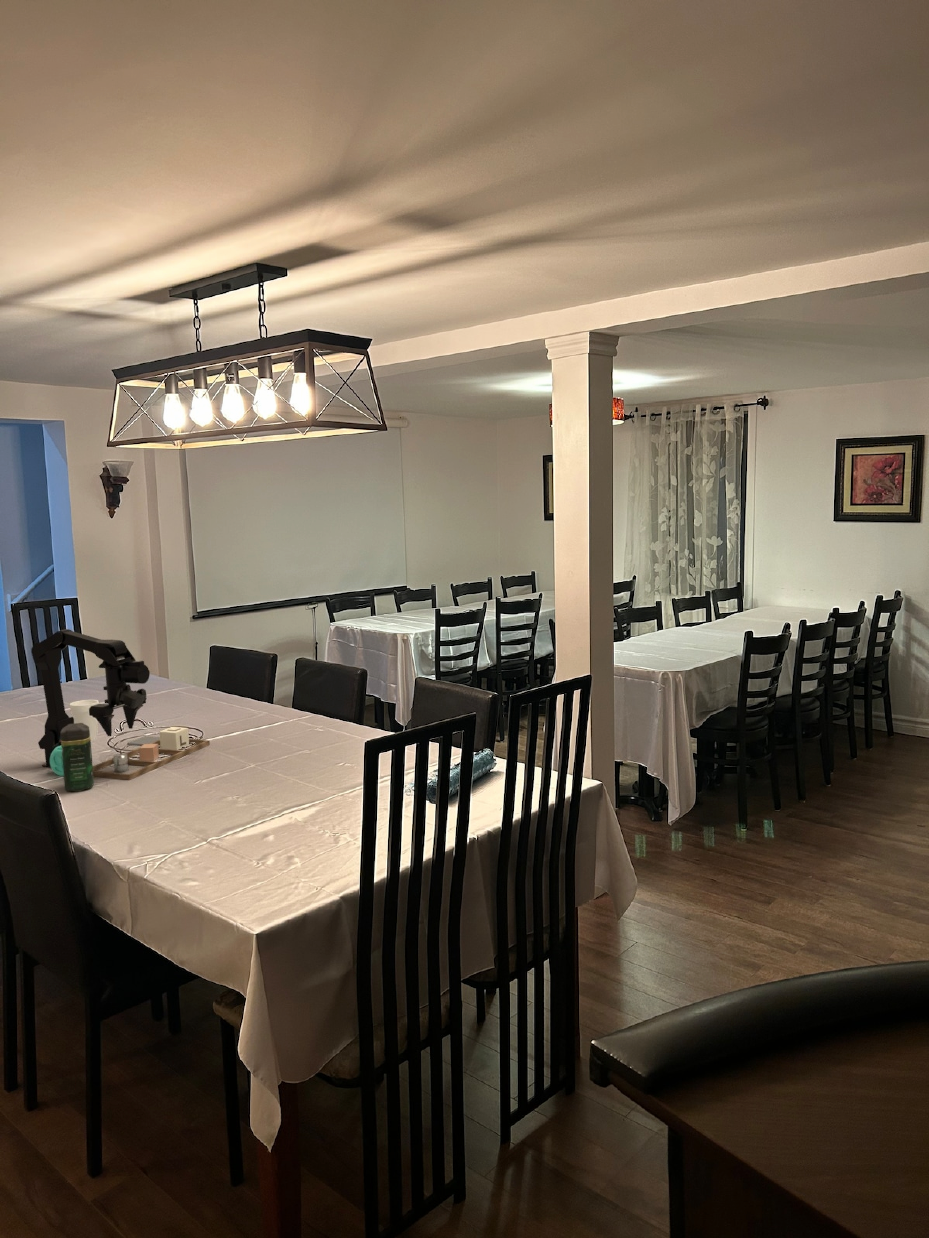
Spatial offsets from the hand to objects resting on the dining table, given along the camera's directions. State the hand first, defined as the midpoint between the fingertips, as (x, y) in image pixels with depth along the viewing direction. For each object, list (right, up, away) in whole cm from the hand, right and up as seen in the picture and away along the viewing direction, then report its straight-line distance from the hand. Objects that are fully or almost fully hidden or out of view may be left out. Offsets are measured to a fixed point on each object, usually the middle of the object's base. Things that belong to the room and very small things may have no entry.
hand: (120, 732), depth 276 cm
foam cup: (-27, -8, +40) cm, 49 cm away
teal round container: (-16, -13, +1) cm, 20 cm away
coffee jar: (-6, -14, -14) cm, 21 cm away
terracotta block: (+5, -10, +13) cm, 17 cm away
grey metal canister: (0, -12, +1) cm, 12 cm away
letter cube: (+9, -9, +25) cm, 28 cm away
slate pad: (-4, -8, +34) cm, 35 cm away
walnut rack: (+5, -10, +13) cm, 17 cm away
